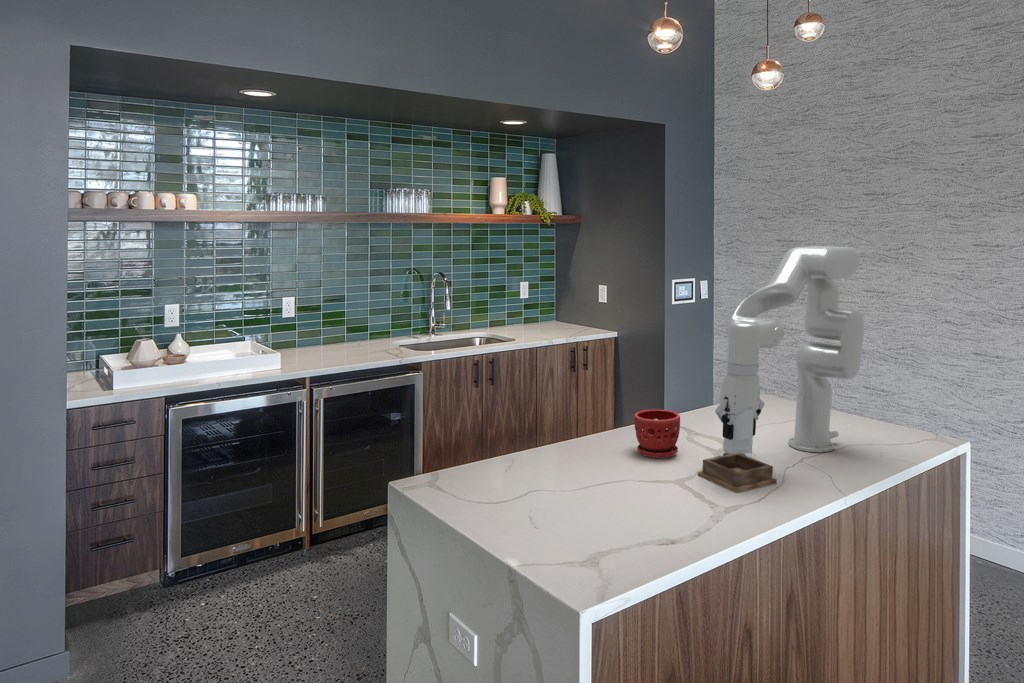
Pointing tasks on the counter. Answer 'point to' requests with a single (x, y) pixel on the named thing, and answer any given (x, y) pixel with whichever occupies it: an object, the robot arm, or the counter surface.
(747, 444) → the skincare box
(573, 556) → the counter surface
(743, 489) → the square wooden tray
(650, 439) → the plant pot
